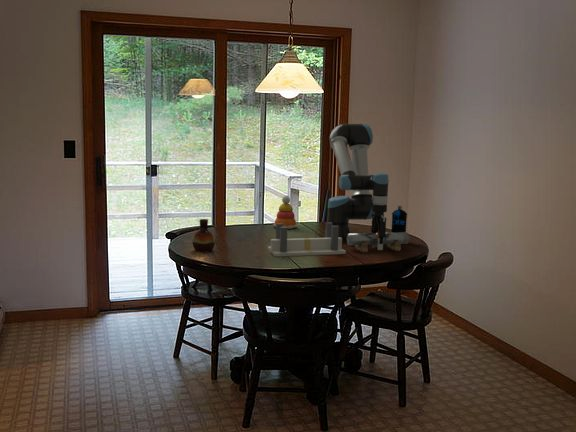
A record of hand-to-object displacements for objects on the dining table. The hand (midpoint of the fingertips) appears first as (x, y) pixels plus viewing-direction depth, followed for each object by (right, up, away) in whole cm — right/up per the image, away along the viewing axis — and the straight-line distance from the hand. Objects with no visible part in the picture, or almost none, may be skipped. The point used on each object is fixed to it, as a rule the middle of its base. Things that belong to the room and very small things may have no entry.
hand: (377, 248), depth 318 cm
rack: (0, 0, 0) cm, 0 cm away
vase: (-88, -1, -12) cm, 89 cm away
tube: (0, +2, 0) cm, 2 cm away
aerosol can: (+14, +2, +19) cm, 23 cm away
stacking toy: (-48, +9, +54) cm, 73 cm away
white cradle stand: (-37, -1, -9) cm, 38 cm away
